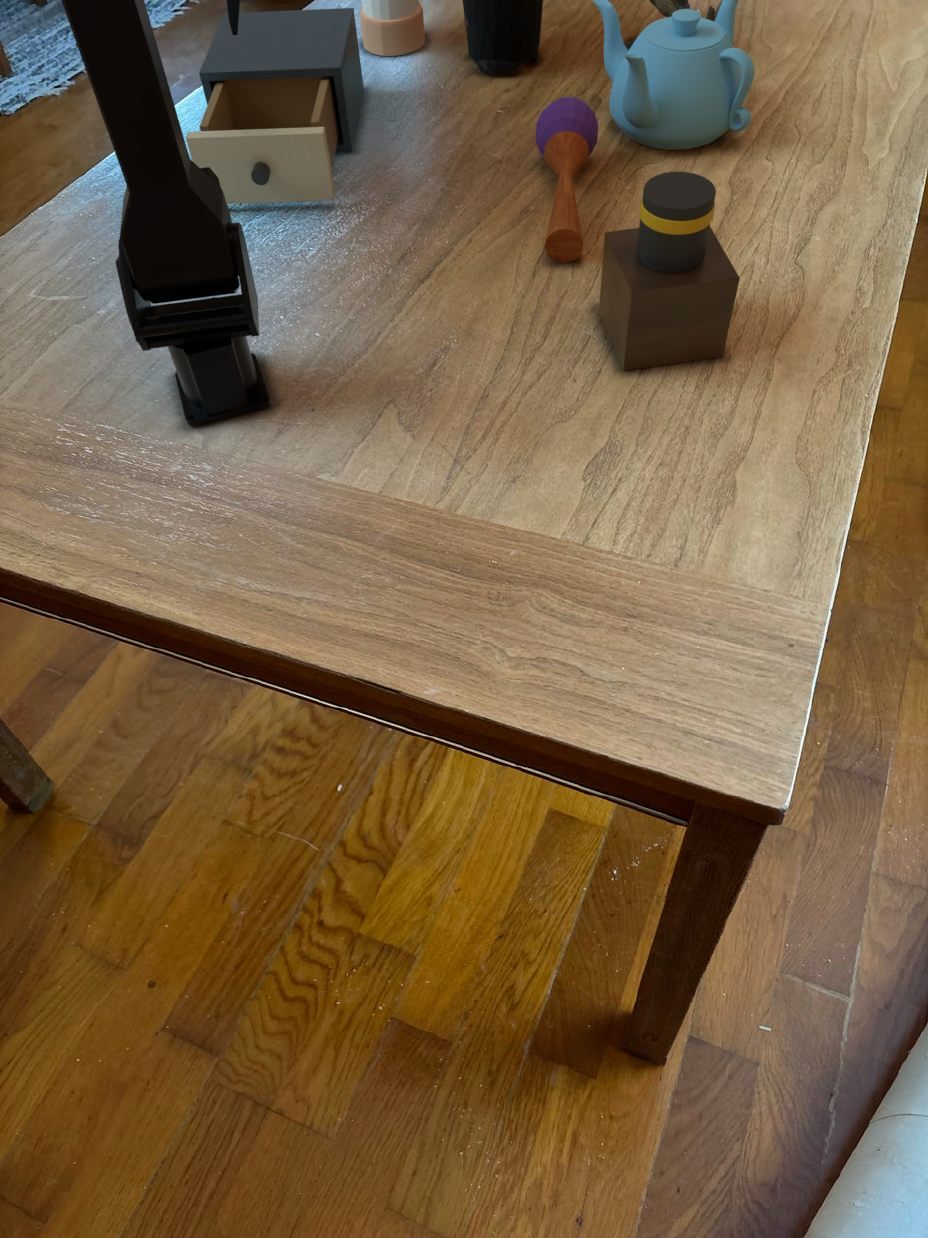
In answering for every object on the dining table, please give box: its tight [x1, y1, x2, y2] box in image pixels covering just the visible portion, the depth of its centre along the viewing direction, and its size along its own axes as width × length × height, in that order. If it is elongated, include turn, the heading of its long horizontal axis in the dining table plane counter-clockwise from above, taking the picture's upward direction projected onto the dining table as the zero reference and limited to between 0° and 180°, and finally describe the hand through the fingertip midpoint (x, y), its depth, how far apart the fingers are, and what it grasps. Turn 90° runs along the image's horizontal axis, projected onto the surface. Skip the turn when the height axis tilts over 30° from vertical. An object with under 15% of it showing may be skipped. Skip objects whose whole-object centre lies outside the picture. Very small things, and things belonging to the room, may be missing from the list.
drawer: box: [185, 76, 340, 205], centre depth 89 cm, size 14×12×6 cm
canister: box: [637, 171, 717, 273], centre depth 68 cm, size 5×5×5 cm
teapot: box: [592, 0, 755, 151], centre depth 91 cm, size 15×15×10 cm
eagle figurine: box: [626, 0, 723, 50], centre depth 103 cm, size 8×7×9 cm
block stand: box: [598, 226, 741, 372], centre depth 73 cm, size 8×8×7 cm
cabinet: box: [198, 7, 365, 154], centre depth 96 cm, size 14×14×8 cm
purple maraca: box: [535, 96, 599, 263], centre depth 86 cm, size 6×6×20 cm
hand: (180, 39), depth 79 cm, fingers open, 9 cm apart
